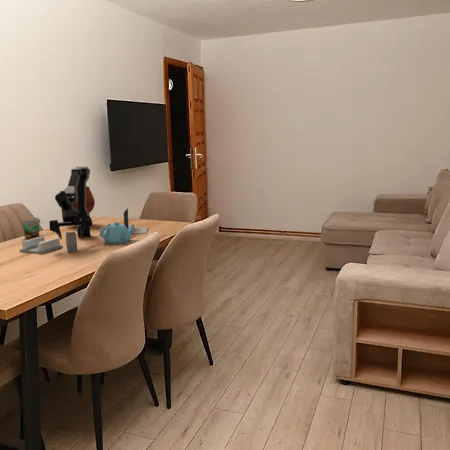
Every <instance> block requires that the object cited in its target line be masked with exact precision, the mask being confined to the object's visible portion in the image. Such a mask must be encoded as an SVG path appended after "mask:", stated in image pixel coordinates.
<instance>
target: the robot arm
mask: <svg viewBox="0 0 450 450" xmlns="http://www.w3.org/2000/svg"><path fill="white" fill-rule="evenodd" d="M90 174H91V170H90V168H89V167H88V166H75V168H74V167H73V168H71V170H70V177H69V180H68V184H67V187H65V189H63V190H60V192H58V193H56V194H55V196H54V199H55V202H56V203H57V204H58V207H59V208H60V210H61V217H62V221H59V220H58V219H53V220H49V224H48V225H49V231H50V232H53V233H55V234H56V235H57V237H58V238H59V239H60V240H63V238H62V232H61V228H60V227H73V226H78V228H76V236H77V237H78V238H80V239H81V238H90V237H92V235H91V227H92V226H93V220H92V217H91V215H90V213H89V212H88V210H87V208H86V186H87V182H88V180H89V179H90ZM77 187H78V195H77V192H76V190H77ZM77 200H78V208H74V210H73V205H72V203H76V201H77Z"/></svg>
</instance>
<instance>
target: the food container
mask: <svg viewBox="0 0 450 450" xmlns="http://www.w3.org/2000/svg"><path fill="white" fill-rule="evenodd" d="M40 223H41V219H40V218H38V217H34V219H28V220H22V225H23V232H24V238H25V239H33V238H37V237H40Z"/></svg>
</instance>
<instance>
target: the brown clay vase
mask: <svg viewBox="0 0 450 450" xmlns="http://www.w3.org/2000/svg"><path fill="white" fill-rule="evenodd" d="M76 192H77V195H78V187H77V190H76ZM95 204H96V203H95V198H94V195H93V193H92V190H91V189H90V186H88V185H86V208H87V210H88V212H89V214H90V213H92V211H93V210H94V208H95ZM72 205H73V210H74V208H78V200H77V201H76V203H72ZM72 227H73V228H76V229H77V228H78V226H72Z"/></svg>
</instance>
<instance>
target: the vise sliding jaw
mask: <svg viewBox="0 0 450 450" xmlns="http://www.w3.org/2000/svg"><path fill="white" fill-rule="evenodd" d="M43 241H45V236H39V237H35V238H29V239H27V240H23V241H21V245H22V249H25V250H26V249H29V248H33V247H36V246H38V243H40V242H43Z"/></svg>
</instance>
